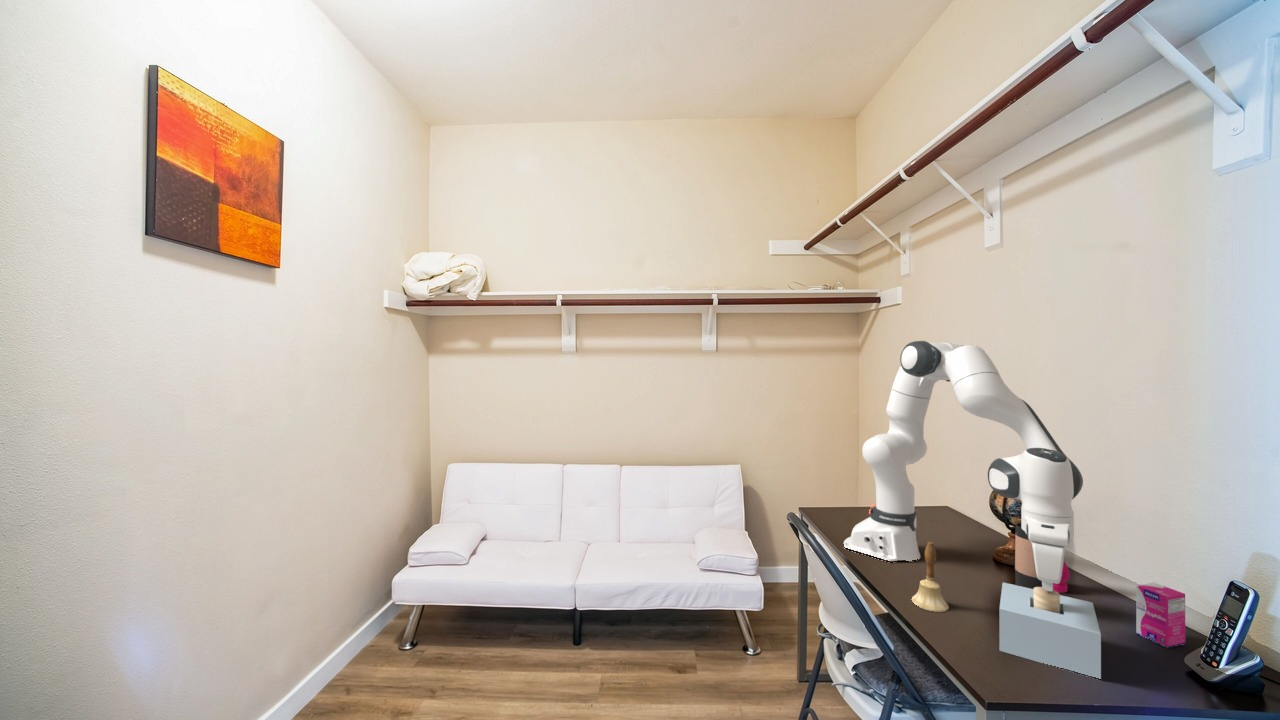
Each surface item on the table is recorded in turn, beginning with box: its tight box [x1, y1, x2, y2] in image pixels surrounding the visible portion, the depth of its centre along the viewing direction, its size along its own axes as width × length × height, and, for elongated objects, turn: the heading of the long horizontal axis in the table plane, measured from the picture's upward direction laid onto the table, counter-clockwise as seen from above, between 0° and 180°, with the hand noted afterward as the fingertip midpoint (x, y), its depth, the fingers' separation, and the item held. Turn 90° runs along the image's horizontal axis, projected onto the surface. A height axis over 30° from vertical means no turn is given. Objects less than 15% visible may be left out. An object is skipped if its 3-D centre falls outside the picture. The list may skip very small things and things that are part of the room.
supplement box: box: [1135, 581, 1186, 647], centre depth 110 cm, size 6×6×12 cm
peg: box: [1034, 587, 1061, 614], centre depth 108 cm, size 4×4×8 cm
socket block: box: [998, 582, 1102, 680], centre depth 108 cm, size 16×16×9 cm
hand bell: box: [910, 540, 950, 613], centre depth 126 cm, size 8×8×16 cm
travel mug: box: [1014, 522, 1042, 589], centre depth 125 cm, size 8×8×20 cm
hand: (1047, 588), depth 107 cm, fingers closed
